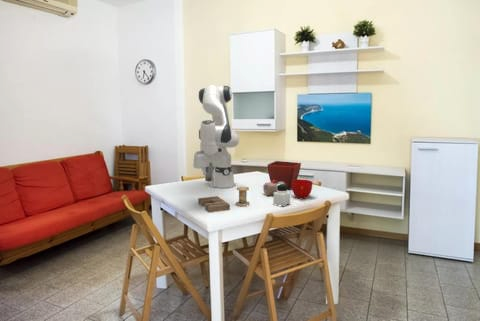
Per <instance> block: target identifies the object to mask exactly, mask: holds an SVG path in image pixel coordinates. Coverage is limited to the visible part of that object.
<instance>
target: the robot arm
mask: <svg viewBox="0 0 480 321" xmlns="http://www.w3.org/2000/svg"><path fill="white" fill-rule="evenodd" d="M197 96H198V101H199V102H200V103H201V104H202V108H203V110H204V112H206V113H207V114H209V115H211V116H212V120H210V119H209V120H208V119H207V120H202V121H201V123H200V127H199V129H198V139H199V140H200V142H199V143H200V146H199V148H200V150H199V151H196V152H195V153H194V155H193V156H194V157H193V164H192V167H193V168H194V169H196V170H197V169H198V170H199V169H201V171H202V175H203V176H205V175H207V172H206V170H205V169H206V167H209V162H212V181H207V183H208V185H209V186H210V188H217V189H218V188H219V189H222V188H223V189H226V188H228V189H229V188H233V187H234V186H236V185H237V184H236V182H235V176H234V173H233V172H232V171H233V167H232V155H231V153H230V152H229V151H228V149H230V148H235V147H237V146H238V145H239V142H240V138H239V135H238V134H237V133H236V132H235V131H234V128H233V127H232V125H231V123H230V118H229V117H230V116H229V112H228V111H229V110H228V102H230V101H231V100H232V97H233V91H232V88H231V87H230V86H229V85H222V86H221V85H214V84H210V85H207V86H206V87H204V88H201V89H200V90H199V91H198V95H197ZM227 148H228V149H227Z"/></svg>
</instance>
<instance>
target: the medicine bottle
mask: <svg viewBox="0 0 480 321" xmlns="http://www.w3.org/2000/svg"><path fill="white" fill-rule="evenodd" d="M272 203H273V204H272V205H274V204H276V205H275V206H278V205H281V206H280V207H282V206H284V207H286V206H288V205H287V204H289V205H290V204H291V192H288V189H287V185H286V184H278V185H277V192H275V193H274V196H273V202H272ZM285 205H286V206H285Z"/></svg>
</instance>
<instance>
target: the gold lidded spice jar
mask: <svg viewBox="0 0 480 321" xmlns="http://www.w3.org/2000/svg"><path fill="white" fill-rule="evenodd" d="M205 170H206V172H207V175H204V177H205V178H204V179H205V180H204V181H205V182H209V181H212V162H209V167H206V169H205Z"/></svg>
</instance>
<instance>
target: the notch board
mask: <svg viewBox="0 0 480 321" xmlns="http://www.w3.org/2000/svg"><path fill="white" fill-rule="evenodd" d="M197 200H198V201H197V202H198V205H200V206H202V207H204V208H205V210H206V211H208V212H209V213H215V211H216V212H222V211H223V212H224V211H230V210H231V208H230V206H231V205H230V204H229V203H228V202H227V201H225V200H223V198H221V197H219V196H217V195H215V196H214V195H213V196H207V197H198V199H197ZM208 212H207V213H208Z"/></svg>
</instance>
